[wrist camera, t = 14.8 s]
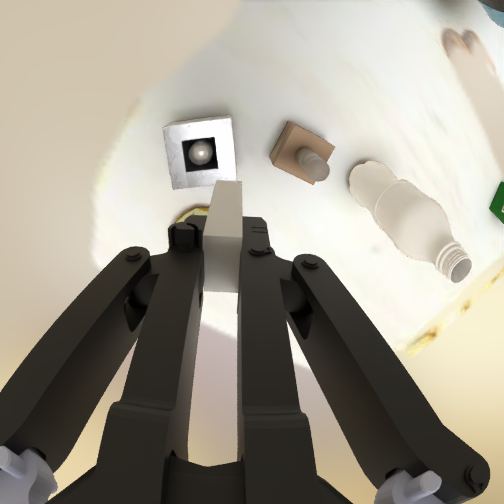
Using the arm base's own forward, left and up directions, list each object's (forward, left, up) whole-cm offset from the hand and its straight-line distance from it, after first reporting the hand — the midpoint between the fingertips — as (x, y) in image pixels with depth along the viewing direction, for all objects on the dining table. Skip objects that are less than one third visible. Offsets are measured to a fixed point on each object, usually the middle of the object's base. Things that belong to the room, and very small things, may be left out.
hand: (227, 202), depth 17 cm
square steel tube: (+3, -3, -23) cm, 23 cm away
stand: (-2, +9, -25) cm, 27 cm away
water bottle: (-3, +21, -25) cm, 33 cm away
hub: (+3, -3, -25) cm, 25 cm away
